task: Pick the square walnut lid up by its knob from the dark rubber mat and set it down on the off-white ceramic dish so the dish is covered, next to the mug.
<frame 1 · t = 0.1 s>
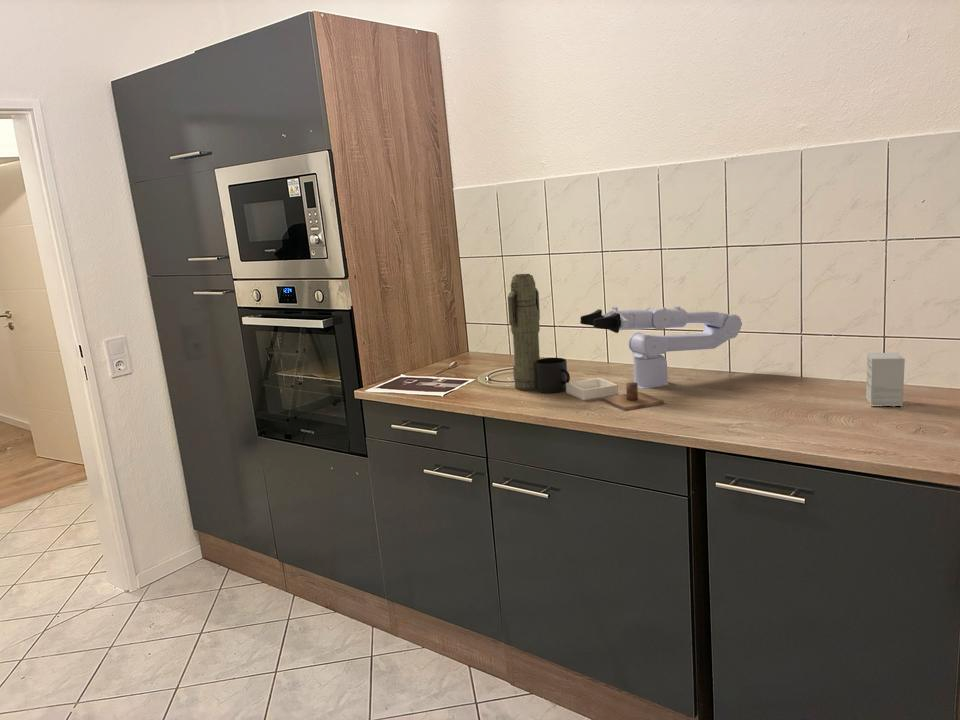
hand: (587, 321, 210), 22 cm above the worktop, tool horizontal, fingers open, 7 cm apart
mug: (555, 390, 223), on the worktop
thermos: (528, 387, 230), on the worktop
dish: (591, 395, 214), on the worktop
supplement box: (883, 404, 187), on the worktop
lid: (632, 402, 203), resting on mat
mat: (632, 403, 203), on the worktop
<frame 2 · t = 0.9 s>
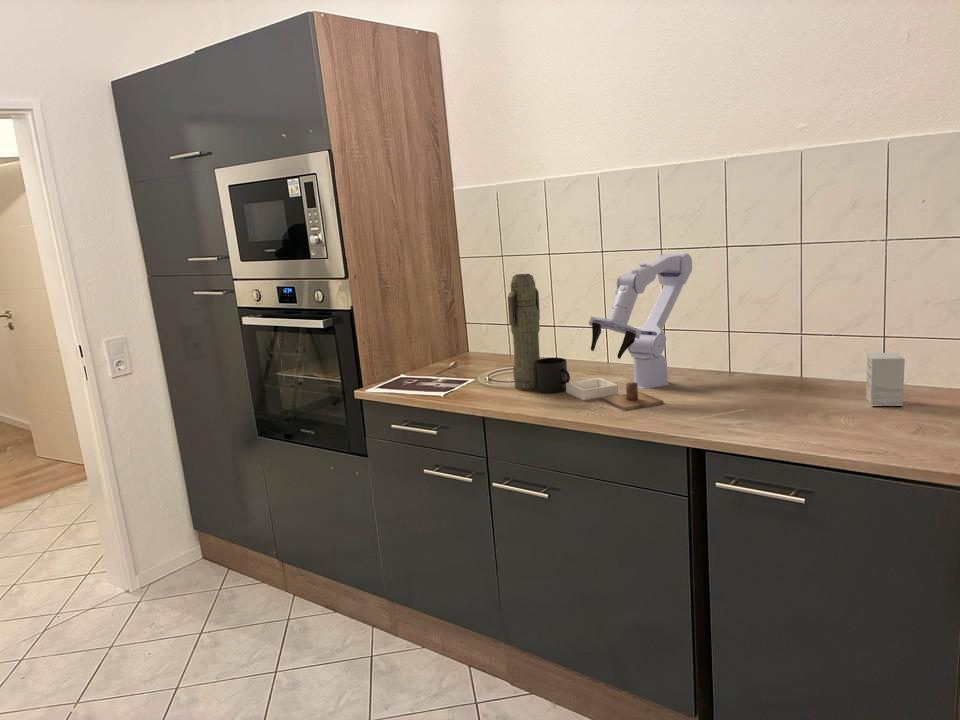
hand: (605, 353, 203), 14 cm above the worktop, tool tilted 40°, fingers open, 7 cm apart
nothing on the worktop moved.
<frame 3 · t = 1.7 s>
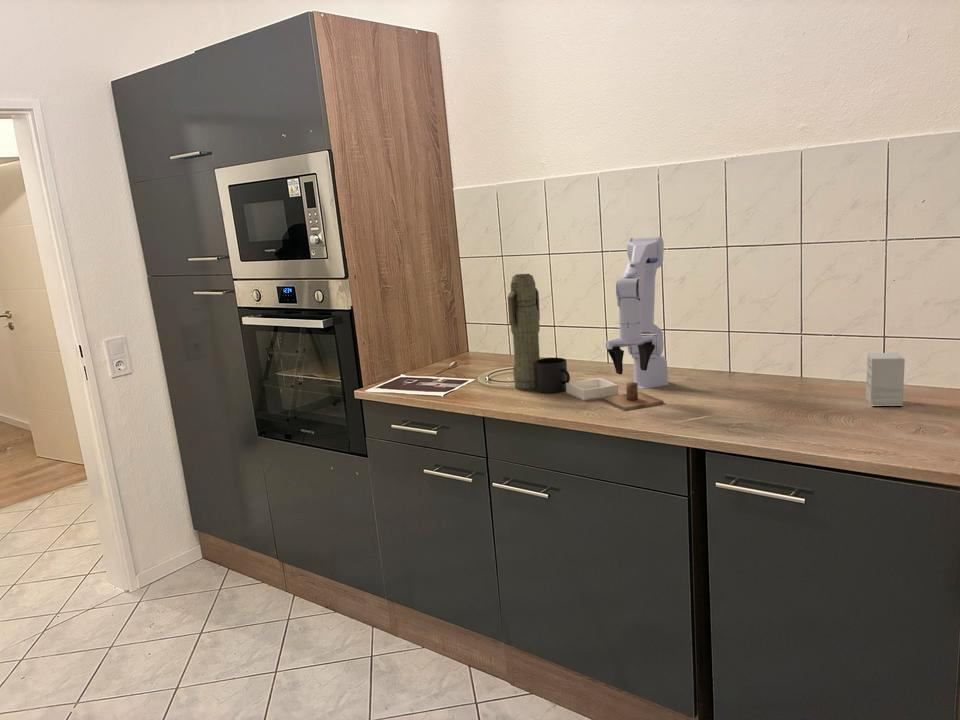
hand: (631, 371, 201), 9 cm above the worktop, tool pointing down, fingers open, 7 cm apart
nothing on the worktop moved.
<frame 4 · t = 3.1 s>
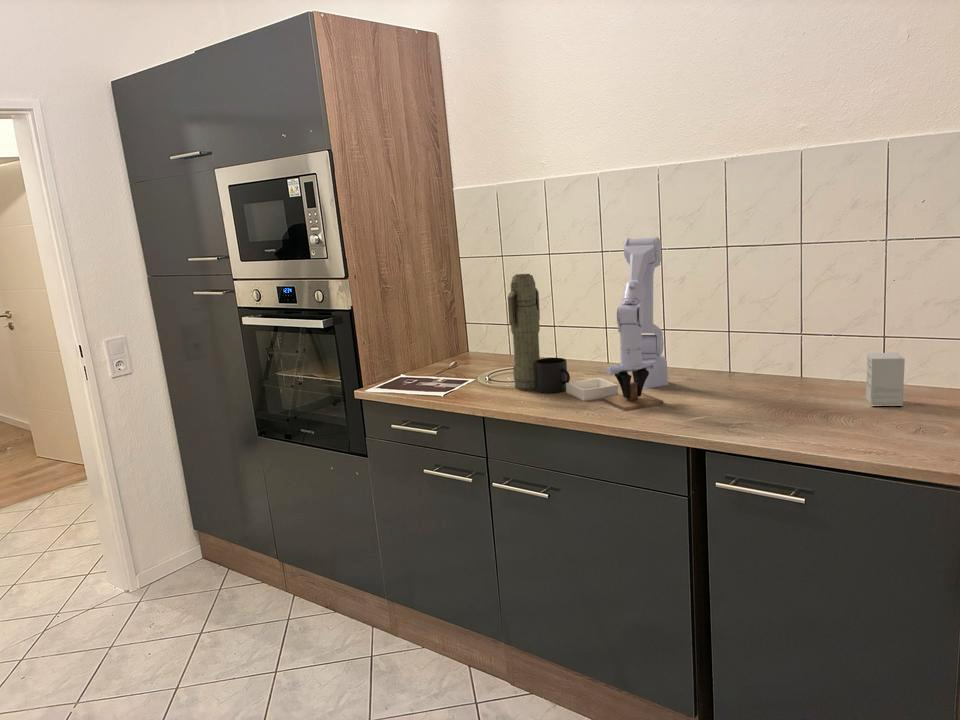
hand: (632, 396, 202), 2 cm above the worktop, tool pointing down, fingers closed on lid, 3 cm apart
lid: (632, 402, 203), resting on mat, touching gripper
everything else where it was.
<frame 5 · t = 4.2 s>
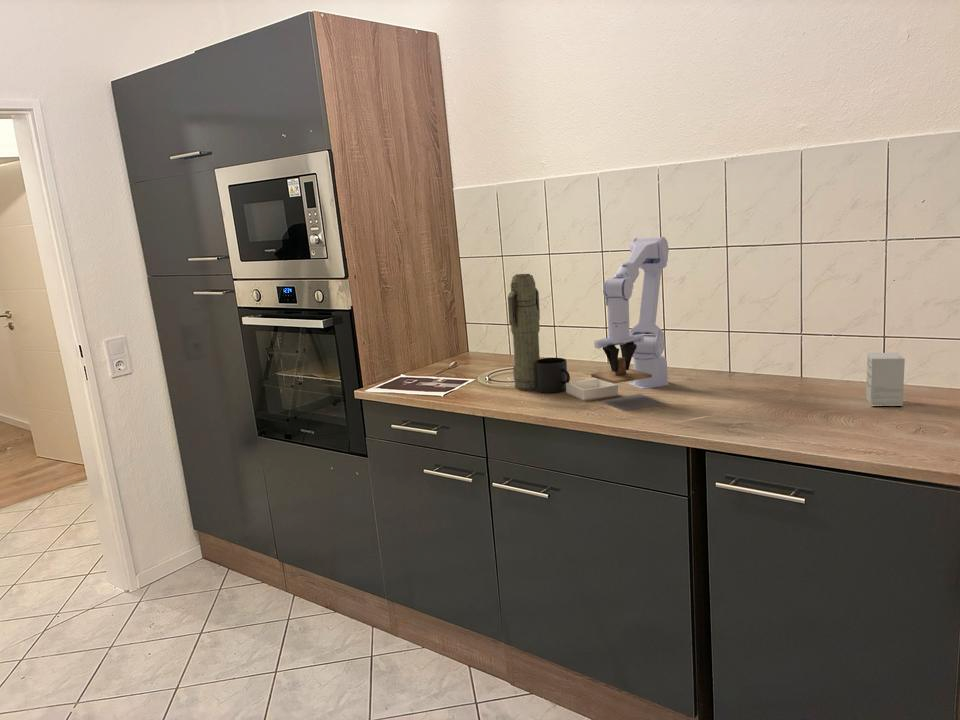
hand: (620, 370, 204), 9 cm above the worktop, tool pointing down, fingers closed on lid, 3 cm apart
lid: (620, 377, 204), point 7 cm above the worktop, touching gripper
everything else where it was.
when the fingers open (6 cm above the worktop, at t = 5.6 s): lid stays where it is, resting on dish.
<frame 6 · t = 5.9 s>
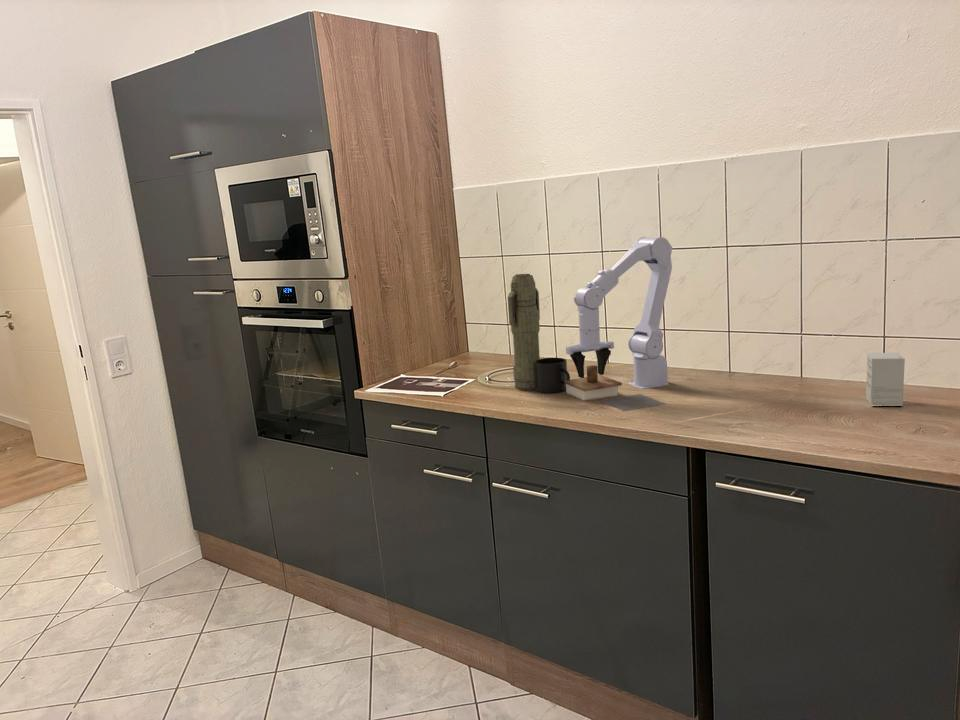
hand: (591, 375, 213), 6 cm above the worktop, tool pointing down, fingers open, 6 cm apart
lid: (592, 384, 213), point 3 cm above the worktop, touching dish
everything else where it was.
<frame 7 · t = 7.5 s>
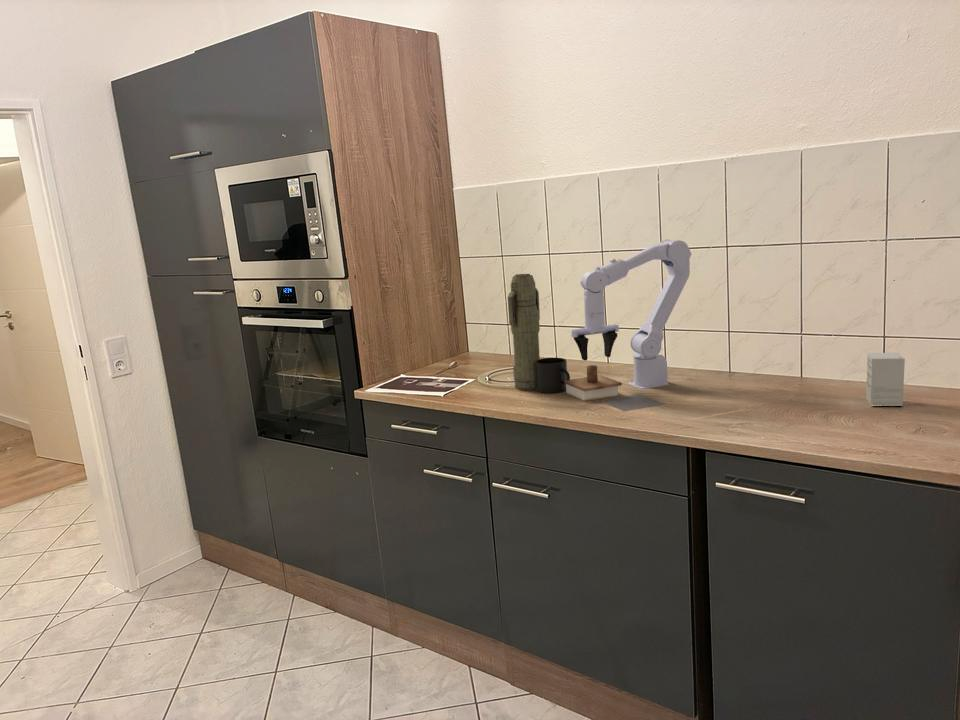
hand: (596, 358, 217), 10 cm above the worktop, tool pointing down, fingers open, 7 cm apart
nothing on the worktop moved.
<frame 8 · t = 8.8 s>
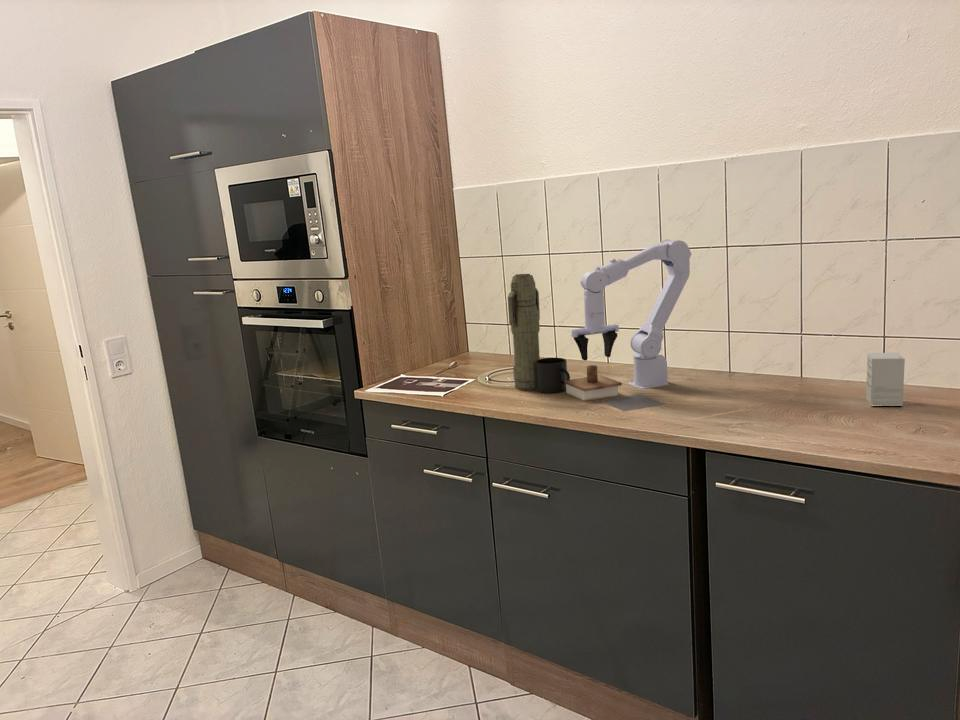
hand: (596, 358, 217), 10 cm above the worktop, tool pointing down, fingers open, 7 cm apart
nothing on the worktop moved.
at the end: lid 0.7 cm off-centre on the dish, point 3.5 cm above the dish's base; lid tilted 0°; the gripper is holding nothing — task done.
